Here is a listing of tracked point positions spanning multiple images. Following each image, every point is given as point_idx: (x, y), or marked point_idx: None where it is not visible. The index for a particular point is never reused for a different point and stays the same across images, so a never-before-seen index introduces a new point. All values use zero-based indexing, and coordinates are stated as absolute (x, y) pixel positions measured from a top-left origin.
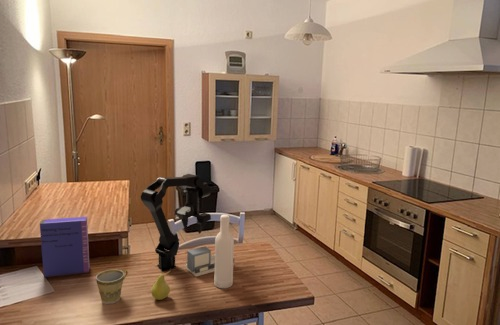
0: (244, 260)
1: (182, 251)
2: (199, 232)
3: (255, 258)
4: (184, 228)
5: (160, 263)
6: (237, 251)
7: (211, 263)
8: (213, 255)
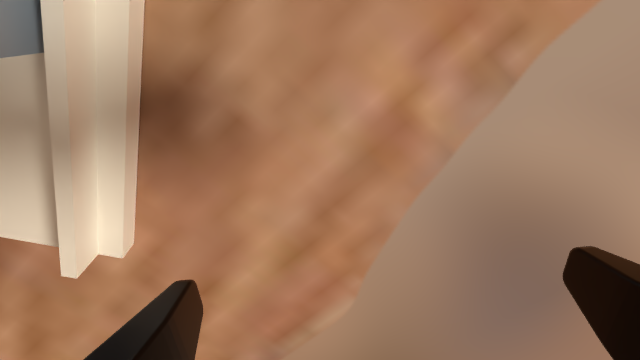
0: (8, 299)
1: (445, 108)
2: (157, 303)
3: (2, 350)
4: (600, 250)
5: None
6: None
7: (5, 81)
8: (56, 169)
